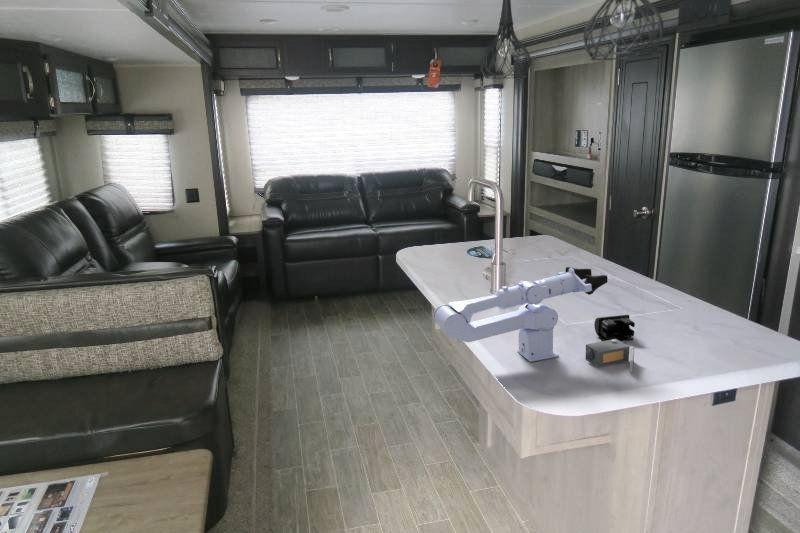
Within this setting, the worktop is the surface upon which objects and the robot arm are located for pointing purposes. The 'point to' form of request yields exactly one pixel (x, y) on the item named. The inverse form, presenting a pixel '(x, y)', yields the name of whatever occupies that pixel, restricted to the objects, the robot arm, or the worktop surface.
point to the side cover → (631, 359)
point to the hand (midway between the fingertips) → (598, 275)
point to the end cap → (614, 328)
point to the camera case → (607, 352)
